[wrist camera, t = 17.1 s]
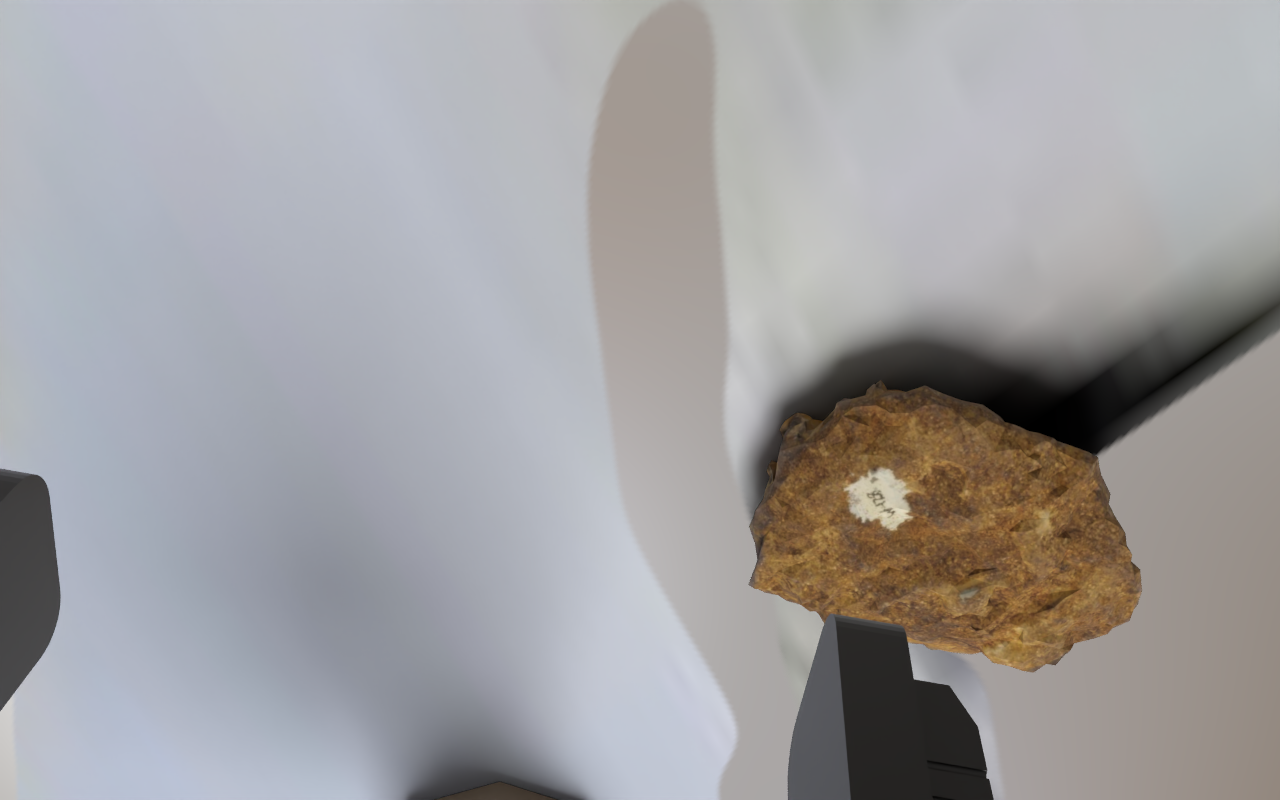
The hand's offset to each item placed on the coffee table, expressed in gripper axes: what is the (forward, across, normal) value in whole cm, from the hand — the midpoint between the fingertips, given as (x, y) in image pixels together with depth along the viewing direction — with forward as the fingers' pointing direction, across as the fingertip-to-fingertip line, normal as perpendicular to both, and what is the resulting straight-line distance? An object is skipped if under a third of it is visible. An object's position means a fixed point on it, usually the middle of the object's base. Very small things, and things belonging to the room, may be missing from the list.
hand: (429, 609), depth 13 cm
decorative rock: (+31, -14, +17) cm, 38 cm away
